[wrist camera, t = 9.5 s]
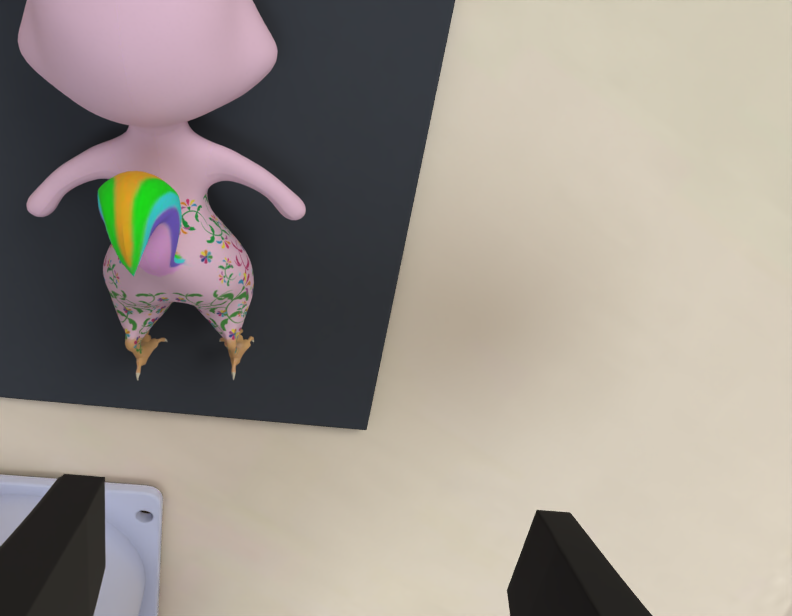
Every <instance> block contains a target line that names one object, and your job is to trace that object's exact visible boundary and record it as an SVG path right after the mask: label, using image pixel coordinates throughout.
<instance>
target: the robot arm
mask: <svg viewBox="0 0 792 616" xmlns="http://www.w3.org/2000/svg"><path fill="white" fill-rule="evenodd" d="M144 510H145V511H149V512H150V513H143V512H141V511H144ZM162 511H163V496H162V493H161V492H160V491H159V490H158V489H156V488H155V487H152V486H148V485H135V484H122V483H109V482H105V477H95V476H82V475H69V474H64V475H63V476H61V477H60V478H58V479H55V478H42V477H29V476H15V475H2V474H0V616H158V609H159V585H160V560H161V535H162ZM507 593H508V601H509V609H510V616H652V615H651V614H650V612H649V611H648V610H647V609H646V608H645V606H644V605H643V604H642V603H641V602H640V600H639V599H638V598H637V597H636V595H635V594H634V593H633V592H632V591H631V589H630V588H629V587H628V586H627V584H626V583H625V582H624V581H623V579H622V578H621V577H620V576H619V574H618V573H617V572H616V570H615V569H614V568H613V567H612V565H611V564H610V563H609V562H608V560H607V559H606V558H605V556H604V555H603V554H602V553H601V551H600V550H599V549H598V547H597V546H596V545H595V544H594V542H593V541H592V540H591V538H590V537H589V536H588V535H587V533H586V532H585V531H584V529H583V528H582V527H581V526H580V524H579V523H578V522H577V521H576V519H575V518H574V517H573V516H572V514H571V513H569V512H556V511H543V510H537V511H536V514H535V516H534V519H533V522H532V524H531V527H530V530H529V532H528V535H527V538H526V540H525V543H524V546H523V549H522V551H521V554H520V557H519V559H518V562H517V565H516V567H515V570H514V573H513V575H512V578H511V581H510V583H509V586H508V589H507Z"/></svg>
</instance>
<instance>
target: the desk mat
mask: <svg viewBox="0 0 792 616" xmlns="http://www.w3.org/2000/svg"><path fill="white" fill-rule="evenodd" d="M26 1H27V0H0V397H5V398H16V399H27V400H38V401H50V402H61V403H72V404H83V405H94V406H105V407H116V408H127V409H138V410H149V411H160V412H171V413H182V414H193V415H205V416H216V417H227V418H238V419H249V420H260V421H271V422H282V423H293V424H304V425H315V426H326V427H337V428H348V429H359V430H366V429H367V425H368V420H369V415H370V410H371V405H372V401H373V396H374V391H375V386H376V381H377V376H378V371H379V367H380V362H381V357H382V352H383V347H384V342H385V338H386V333H387V328H388V323H389V318H390V313H391V309H392V304H393V299H394V294H395V289H396V284H397V279H398V275H399V270H400V265H401V260H402V255H403V250H404V246H405V241H406V236H407V231H408V226H409V221H410V217H411V212H412V207H413V202H414V197H415V192H416V187H417V183H418V178H419V173H420V168H421V163H422V158H423V154H424V149H425V144H426V139H427V134H428V129H429V125H430V120H431V115H432V110H433V105H434V100H435V95H436V91H437V86H438V81H439V76H440V71H441V66H442V62H443V57H444V52H445V47H446V42H447V37H448V33H449V28H450V23H451V18H452V13H453V8H454V3H455V0H253V2H254V4H255V6H256V8H257V10H258V12H259V14H260V16H261V18H262V20H263V21H264V23H265V25H266V26H267V28H268V30H269V32H270V33H271V35H272V37H273V39H274V41H275V43H276V46H277V50H278V52H277V60H276V63H275V65H274V66H273V68H272V70H271V71H270V72H269V73H268V74H267V75H266V76H265V77H264V78H263V79H262V80H261V81H260V82H259V83H258V84H257V85H255V86H254V87H253V88H252V89H250V90H249V91H248V92H246V93H245V94H243V95H242V96H240V97H239V98H237V99H235V100H233V101H231V102H229V103H227V104H225V105H223V106H221V107H219V108H217V109H215V110H213V111H211V112H209V113H207V114H205V115H203V116H200V117H198V118H195V119H192V120H190V121H187V122H188V124H189V126H190V128H191V129H192V130H193V131H194V132H195V133H196V134H198V135H199V136H201V137H203V138H205V139H207V140H209V141H211V142H214V143H216V144H219V145H222V146H224V147H226V148H229V149H231V150H233V151H235V152H237V153H239V154H240V155H242V156H244V157H246V158H248V159H249V160H251V161H253V162H254V163H256V164H258V165H260V166H261V167H263V168H264V169H266V170H267V171H268V172H270V173H271V174H272V175H274V176H275V177H276V178H277V179H279V180H280V181H281V182H282V183H283V184H284V185H286V186H287V187H288V188H289V189H290V190H291V191H292V192H294V193H295V194H296V195H297V196H298V197H299V198H300V199H301V200H302V201H303V203H304V205H305V208H306V212H305V215H304V216H303V217H302V218H301V219H298V220H290V219H287V218H285V217H284V216H283V215H282V214H281V213H280V212H279V211H278V210H277V209H276V207H275V206H274V205H273V204H272V202H271V201H270V200H269V199H268V198H267V197H265V196H264V195H262V194H261V193H260V192H258V191H256V190H254V189H252V188H250V187H248V186H245V185H243V184H240V183H236V182H232V181H220V182H216V183H214V184H212V185H211V186H210V187H209V188H208V192H207V197H208V202H209V205H210V207H211V209H212V211H213V212H214V213H215V215H216V216H217V217H218V218H219V219H220V220H221V221H222V223H223V224H224V225H225V226H226V227H227V228H228V229H229V230H230V232H231V233H232V234H233V235H234V236H235V237H236V238H237V240H238V241H239V242H240V243H241V245H242V246H243V248H244V249H245V251H246V253H247V255H248V257H249V259H250V262H251V265H252V269H253V276H254V288H253V295H252V299H251V302H250V305H249V308H248V311H247V314H246V317H245V319H244V322H243V325H242V328H241V329H242V330H243V332H242V333H241V334H240V335H242V336H243V340H245V339H247V340H248V339H249V337H250V336H252V337H254V342H253V341H252V340H251V342H250V344H251V346H250V347H249V348H248V349H247V350H246V351H245V353H244V354H243V355H242V357H241V359H240V363H239V364H238V365H236V374H235V378H234V380H233V376H232V373H231V371H232V364H231V359H230V356H229V352H228V349H227V347H226V346H225V344H224V343H225V342H223V341H222V342H220V338H223V337H222V336H221V335H220V334H219V333H218V331H217V330H216V329H215V328H214V327H213V326H212V324H211V323H210V322H209V321H208V320H207V319H206V318H205V317H204V316H203V315H202V313H201V312H200V311H199V310H198V309H197V308H196V307H195V306H194V305H190V304H187V303H181V302H173V303H172V304H171V305H170V307H169V308H168V309H167V310H166V311H165V313H164V314H163V315H162V316H161V317H160V318H159V319H158V320H157V321H156V322H155V323H154V325H153V326H152V327H151V328H150V330H149V333H148V335H150V336H151V339H153V338H155V339H159V338H165V339H167V341H168V342H166V341H165V342H162V341H161V342H159V343H158V346H157V347H156V348H155V349H154V350H153V352H152V353H151V355H150V356H149V357H148V359H147V362H146V364H145V365H143V366H141V372H140V375H139V378H138V380H137V377H136V370H137V363H136V361H137V360H136V357H135V355H134V354H133V352H131V351H129V350H128V349H127V348H126V345H125V330H124V329H123V327H122V324H121V322H120V320H119V317H118V315H117V312H116V310H115V307H114V304H113V301H112V299H111V296H110V293H109V290H108V287H107V285H106V283H105V280H104V275H103V264H104V259H105V256H106V253H107V251H108V249H109V247H110V245H111V241H110V239H109V236H108V233H107V230H106V227H105V223H104V222H103V220H102V218H101V215H100V212H99V207H98V189H99V188H100V187H101V186H102V185H103V184H104V183H105V182H106V181H108V180H109V179H96V180H92V181H89V182H86V183H83V184H81V185H79V186H77V187H75V188H73V189H71V190H70V191H69V192H67V193H66V194H65V195H64V196H63V198H62V199H61V201H60V202H59V204H58V206H57V207H56V209H55V210H54V211H53V212H52V213H51V214H49V215H48V216H45V217H37V216H34V215H32V214H31V213H30V212H29V211H28V210H27V205H26V204H27V201H28V198H29V197H30V195H31V194H32V193H33V192H34V191H35V190H36V189H37V188H38V187H39V186H40V185H41V184H42V183H43V181H44V180H45V179H46V178H47V177H48V176H49V175H50V174H51V173H53V172H54V171H55V170H56V169H57V168H58V167H60V166H61V165H63V164H64V163H66V162H67V161H69V160H70V159H72V158H74V157H75V156H77V155H79V154H81V153H82V152H84V151H86V150H87V149H89V148H91V147H93V146H95V145H98V144H100V143H103V142H106V141H109V140H111V139H114V138H116V137H118V136H120V135H122V134H123V133H125V132H126V131H127V129H128V127H129V125H125V124H121V123H117V122H114V121H111V120H108V119H105V118H103V117H100V116H98V115H96V114H94V113H92V112H90V111H88V110H86V109H85V108H83V107H82V106H80V105H78V104H77V103H76V102H74V101H73V100H71V99H70V98H69V97H67V96H66V95H64V94H63V93H62V92H61V91H59V90H58V89H57V88H55V87H54V86H53V85H52V84H50V83H49V82H48V81H47V80H45V79H44V78H43V77H42V76H41V75H39V74H38V73H37V72H36V71H35V70H34V69H33V68H32V67H31V66H30V65H29V64H28V63H27V61H26V60H25V58H24V57H23V55H22V54H21V52H20V49H19V44H18V33H19V29H20V25H21V21H22V17H23V13H24V9H25V5H26Z"/></svg>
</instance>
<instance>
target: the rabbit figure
mask: <svg viewBox="0 0 792 616" xmlns="http://www.w3.org/2000/svg"><path fill="white" fill-rule="evenodd" d="M18 44H19V49H20V52H21V54H22V55H23V57H24V58H25V60H26V61H27V63H28V64H29V65H30V66H31V67H32V68H33V69H34V70H35V71H36V72H37V73H38V74H39V75H41V76H42V77H43V78H44V79H45V80H47V81H48V82H49V83H50V84H52V85H53V86H54V87H55V88H57V89H58V90H59V91H61V92H62V93H63V94H64V95H66V96H67V97H69V98H70V99H71V100H73V101H74V102H76V103H77V104H78V105H80V106H82V107H83V108H85V109H86V110H88V111H90V112H92V113H94V114H96V115H98V116H100V117H103V118H105V119H108V120H111V121H114V122H117V123H121V124H125V125H129V127H128V129H127V131H126V132H125V133H123V134H122V135H120V136H118V137H116V138H114V139H111V140H109V141H106V142H103V143H100V144H98V145H95V146H93V147H91V148H89V149H87V150H86V151H84V152H82V153H81V154H79V155H77V156H75V157H74V158H72V159H70V160H69V161H67V162H66V163H64V164H63V165H61V166H60V167H58V168H57V169H56V170H55V171H54V172H53V173H51V174H50V175H49V176H48V177H47V178H46V179H45V180H44V181H43V183H42V184H41V185H40V186H39V187H38V188H37V189H36V190H35V191H34V192H33V193H32V194H31V195H30V197H29V198H28V201H27V204H26V205H27V210H28V211H29V212H30V213H31V214H32V215H34V216H37V217H45V216H48V215H49V214H51V213H52V212H53V211H54V210H55V209H56V207H57V206H58V204H59V202H60V201H61V199H62V198H63V196H64V195H65V194H66V193H67V192H69V191H70V190H71V189H73V188H75V187H77V186H79V185H81V184H83V183H86V182H89V181H92V180H96V179H109V180H108V181H106V182H105V183H104V184H103V185H102V186H101V187H100V188H99V189H98V207H99V212H100V215H101V218H102V220H103V222H104V223H105V227H106V230H107V233H108V236H109V239H110V241H111V245H110V247H109V249H108V251H107V253H106V256H105V259H104V264H103V275H104V280H105V283H106V285H107V287H108V290H109V293H110V296H111V299H112V301H113V304H114V307H115V310H116V312H117V315H118V317H119V320H120V322H121V324H122V327H123V329H124V330H125V345H126V348H127V349H128V350H129V351H131V352H133V354H134V355H135V357H136V360H137V361H136V363H137V370H136V377H137V380H138V378H139V375H140V372H141V366H143V365H145V364H146V362H147V359H148V357H149V356H150V355H151V353H152V352H153V350H154V349H155V348H156V347H157V346H158V343H159V342H161V341H162V342H165V341H166V342H168V341H167V339H165V338H159V339H155V338H153V339H151V336H150V335H148V333H149V330H150V328H151V327H152V326H153V325H154V323H155V322H156V321H157V320H158V319H159V318H160V317H161V316H162V315H163V314H164V313H165V311H166V310H167V309H168V308H169V307H170V305H171V304H172V303H173V302H181V303H187V304H190V305H194V306H195V307H196V308H197V309H198V310H199V311H200V312H201V313H202V315H203V316H204V317H205V318H206V319H207V320H208V321H209V322H210V323H211V324H212V326H213V327H214V328H215V329H216V330H217V331H218V333H219V334H220V335H221V336H222V337H223V338H220V342H222V341H223V342H225V343H224V344H225V346H226V347H227V349H228V352H229V356H230V359H231V364H232V371H231V373H232V376H233V380H234V378H235V374H236V365H238V364H239V363H240V359H241V357H242V355H243V354H244V353H245V351H246V350H247V349H248V348H249V347H250V346H251V344H250V342H251V340H252V341H253V342H254V337H252V336H250V337H249V339H248V340H247V339H245V340H243V336H242V335H240V334H241V333H242V332H243V330H242V329H241V328H242V325H243V322H244V319H245V317H246V314H247V311H248V308H249V305H250V302H251V299H252V295H253V288H254V276H253V269H252V265H251V262H250V259H249V257H248V255H247V253H246V251H245V249H244V248H243V246H242V245H241V243H240V242H239V241H238V240H237V238H236V237H235V236H234V235H233V234H232V233H231V232H230V230H229V229H228V228H227V227H226V226H225V225H224V224H223V223H222V221H221V220H220V219H219V218H218V217H217V216H216V215H215V213H214V212H213V211H212V209H211V207H210V205H209V202H208V197H207V192H208V188H209V187H210V186H211V185H212V184H214V183H216V182H220V181H232V182H236V183H240V184H243V185H245V186H248V187H250V188H252V189H254V190H256V191H258V192H260V193H261V194H262V195H264V196H265V197H267V198H268V199H269V200H270V201H271V202H272V204H273V205H274V206H275V207H276V209H277V210H278V211H279V212H280V213H281V214H282V215H283V216H284V217H285V218H287V219H290V220H298V219H301V218H302V217H303V216H304V215H305V212H306V208H305V205H304V203H303V201H302V200H301V199H300V198H299V197H298V196H297V195H296V194H295V193H294V192H292V191H291V190H290V189H289V188H288V187H287V186H286V185H284V184H283V183H282V182H281V181H280V180H279V179H277V178H276V177H275V176H274V175H272V174H271V173H270V172H268V171H267V170H266V169H264V168H263V167H261V166H260V165H258V164H256V163H254V162H253V161H251V160H249V159H248V158H246V157H244V156H242V155H240V154H239V153H237V152H235V151H233V150H231V149H229V148H226V147H224V146H222V145H219V144H216V143H214V142H211V141H209V140H207V139H205V138H203V137H201V136H199V135H198V134H196V133H195V132H194V131H193V130H192V129H191V128H190V126H189V124H188V122H187V121H190V120H192V119H195V118H198V117H200V116H203V115H205V114H207V113H209V112H211V111H213V110H215V109H217V108H219V107H221V106H223V105H225V104H227V103H229V102H231V101H233V100H235V99H237V98H239V97H240V96H242V95H243V94H245V93H246V92H248V91H249V90H250V89H252V88H253V87H254V86H255V85H257V84H258V83H259V82H260V81H261V80H262V79H263V78H264V77H265V76H266V75H267V74H268V73H269V72H270V71H271V70H272V68H273V66H274V65H275V63H276V60H277V52H278V50H277V46H276V43H275V41H274V39H273V37H272V35H271V33H270V32H269V30H268V28H267V26H266V25H265V23H264V21H263V20H262V18H261V16H260V14H259V12H258V10H257V8H256V6H255V4H254V2H253V0H27V1H26V5H25V9H24V13H23V17H22V21H21V25H20V29H19V33H18Z"/></svg>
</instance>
